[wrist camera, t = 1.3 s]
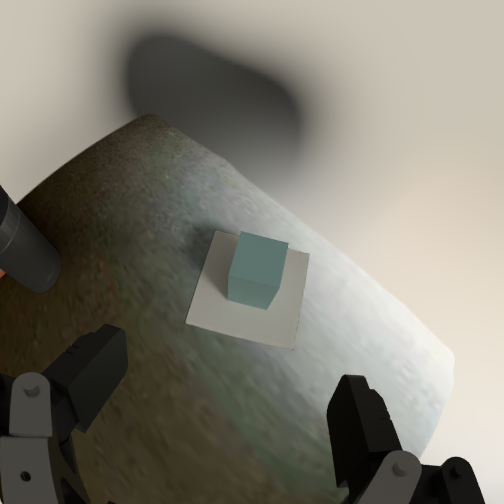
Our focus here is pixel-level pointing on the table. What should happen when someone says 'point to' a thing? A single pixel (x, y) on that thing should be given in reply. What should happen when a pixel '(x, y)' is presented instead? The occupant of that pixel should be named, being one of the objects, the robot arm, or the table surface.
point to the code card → (243, 316)
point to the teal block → (256, 270)
